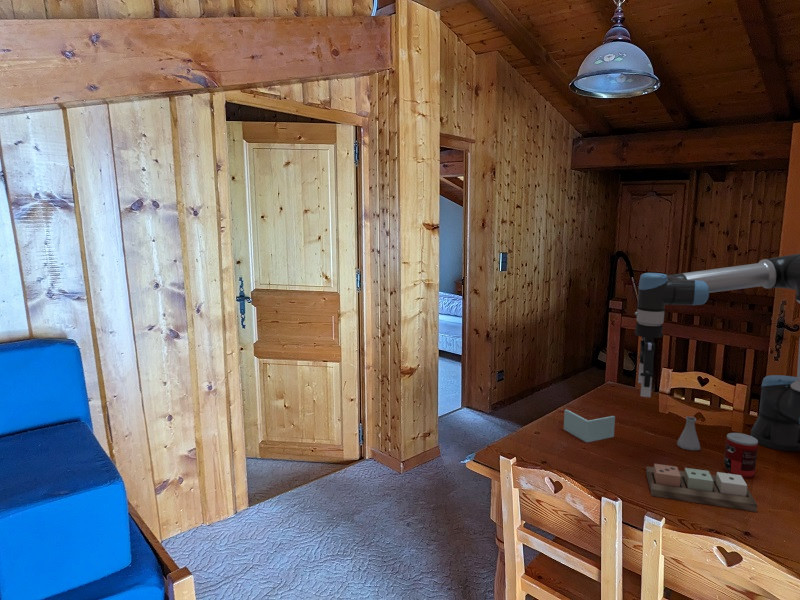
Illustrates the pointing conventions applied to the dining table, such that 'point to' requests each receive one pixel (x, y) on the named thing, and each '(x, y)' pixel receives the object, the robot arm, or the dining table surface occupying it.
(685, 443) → the flask
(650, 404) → the dining table surface
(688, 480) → the tile two
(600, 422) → the right angle wall
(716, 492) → the button board
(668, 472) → the tile three
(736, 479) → the tile one
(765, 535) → the dining table surface
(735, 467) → the canned food
